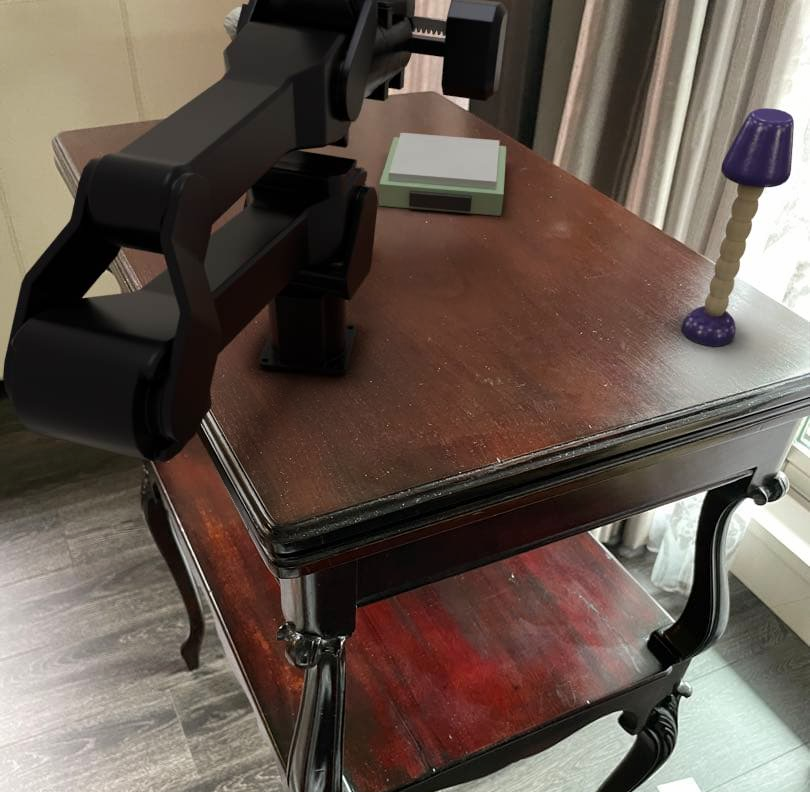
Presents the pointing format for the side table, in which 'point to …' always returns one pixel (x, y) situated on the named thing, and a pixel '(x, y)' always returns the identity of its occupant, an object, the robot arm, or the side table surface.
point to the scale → (444, 174)
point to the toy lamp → (742, 213)
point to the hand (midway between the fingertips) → (410, 22)
